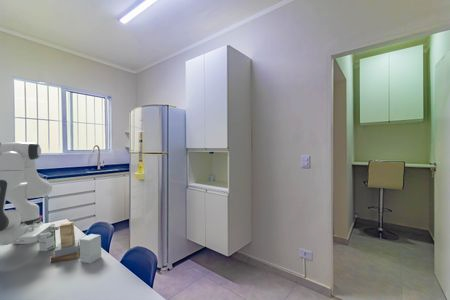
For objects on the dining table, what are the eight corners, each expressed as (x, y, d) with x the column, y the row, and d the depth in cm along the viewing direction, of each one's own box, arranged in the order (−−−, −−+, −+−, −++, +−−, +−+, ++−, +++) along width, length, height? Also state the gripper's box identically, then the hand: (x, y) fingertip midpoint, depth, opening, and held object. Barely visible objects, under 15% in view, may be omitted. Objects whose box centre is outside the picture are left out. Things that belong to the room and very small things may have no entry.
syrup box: (46, 251, 127) (46, 227, 127) (38, 250, 128) (38, 226, 128) (56, 246, 133) (55, 223, 133) (48, 246, 134) (47, 223, 134)
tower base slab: (60, 253, 125) (60, 247, 125) (83, 250, 129) (83, 244, 129) (50, 264, 114) (50, 257, 114) (76, 260, 118) (76, 253, 118)
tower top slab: (58, 249, 123) (58, 243, 123) (79, 245, 128) (79, 239, 128) (54, 257, 114) (54, 250, 114) (77, 252, 119) (77, 246, 119)
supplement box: (101, 257, 120) (101, 234, 119) (90, 264, 112) (89, 240, 112) (91, 255, 122) (91, 233, 122) (79, 262, 115) (78, 238, 114)
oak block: (64, 243, 123) (63, 222, 123) (74, 241, 125) (73, 221, 124) (61, 247, 118) (59, 225, 118) (71, 245, 120) (70, 224, 120)
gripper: (12, 236, 106) (45, 232, 110) (35, 222, 126) (62, 219, 130) (12, 248, 106) (45, 244, 110) (35, 232, 126) (63, 229, 130)
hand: (55, 230), depth 120 cm, fingers open, 8 cm apart
